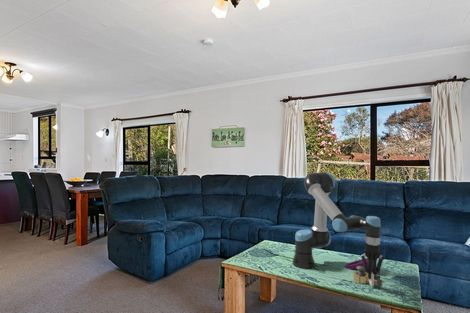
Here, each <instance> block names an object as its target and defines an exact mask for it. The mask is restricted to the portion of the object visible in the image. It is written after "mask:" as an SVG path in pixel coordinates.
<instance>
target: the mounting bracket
mask: <svg viewBox="0 0 470 313" xmlns="http://www.w3.org/2000/svg"><path fill="white" fill-rule="evenodd" d="M365 259H366V263H367V267H368V258H367V257H366V258H365ZM357 266H363V267H364V265H363V260H362V258H361V259H359V260H354V261H350V262H347V263H346V264H345V268H346V269H349V270H354V269H357ZM365 272H366V271H365ZM366 273H367V272H366ZM372 273H373V272H372Z"/></svg>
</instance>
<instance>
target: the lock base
mask: <svg viewBox="0 0 470 313" xmlns="http://www.w3.org/2000/svg"><path fill="white" fill-rule="evenodd" d="M356 270H357V271H358V275H360V276H365V269H364V267H363V266H357V268H356ZM377 279H381V275H378V274H376V279H374V280H377ZM382 285H384V281H382Z"/></svg>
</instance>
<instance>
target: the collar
mask: <svg viewBox="0 0 470 313" xmlns="http://www.w3.org/2000/svg"><path fill="white" fill-rule="evenodd" d="M352 279H353V280H354V282H356V283H359V284H369V281H370V279H369V278H368V273H366V272H365V276H360V275H358V270H355V271H353V278H352ZM382 282H383V280H382V279H381V278H380V279H377V280H374V285H375V286H378V287H382V286H383V284H382Z"/></svg>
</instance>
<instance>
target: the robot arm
mask: <svg viewBox="0 0 470 313" xmlns="http://www.w3.org/2000/svg"><path fill="white" fill-rule="evenodd" d="M303 185H304V188H305V190H306V192H307V193H308V194H309V195H311V196H312V197H313V198H314V199H315V202H314V203H315V204H314V216H313V218H314V219H313V222H314V223H313V225H312V226H311V227H310V228H311V230H310V229H300V230H297V231H296V232H295V234H294V235H295V236H294V239H295V241H294V243H295V244H294V255H293V258H292V265H293V266H294V267H296V268H300V269H306V270H307V269H313V268H314V267H315V265H316V264H315V259H314V256H313V249H314V250H315V249H318V248H319V249H321V248H325V247H328V246H329V245H330V244H331V241H332V235H331V232H329V229H328V228H327V220H328V217H329V219H330V220H331V221H332V223H331V226H332V228H333V230H334V231H335V232H338V233H344V232H349V231H357V230H359V231H363V232H365V243H364V245H365V246H364V247H365V248H364V249H365V250H364V253H363V254H360V255H359V256H360V257H361V259H362V260H363V265H364V269H365V271H366V272H367V273H368V278H369V279H370V281H369V283H368V284H369V285H370V286H375V284H374V279H376V275H377V274H379V273H380V272H381V268H382V265H383V261H384V260H385V256H384V255H381V252H380V251H381V226H382V225H381V218H380V217H378V216H375V215H367V216H366V218H365V217H362V216H358V215H350V216H349V217H346V216H345V215H344V214H343V212H341V210H340V209H339V208H338V206H337V205H336V204H335V203H334V202H333V200H332V199H330V196H329V195H330V194H331V193H332V189H334V188H335V186H336V180H335V177H334V175H332V173H330V172H311V173H308V174H307V175H306V176H305V178H304V179H303ZM365 258H368V267H367V263H366V259H365ZM372 272H373V273H372Z"/></svg>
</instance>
